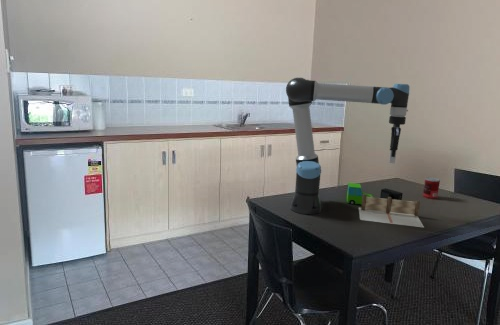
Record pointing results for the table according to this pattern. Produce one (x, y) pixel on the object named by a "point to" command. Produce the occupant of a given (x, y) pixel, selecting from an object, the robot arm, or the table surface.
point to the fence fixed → (376, 203)
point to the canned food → (431, 188)
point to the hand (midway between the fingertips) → (391, 162)
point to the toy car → (355, 194)
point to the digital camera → (391, 194)
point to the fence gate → (405, 207)
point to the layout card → (390, 217)
